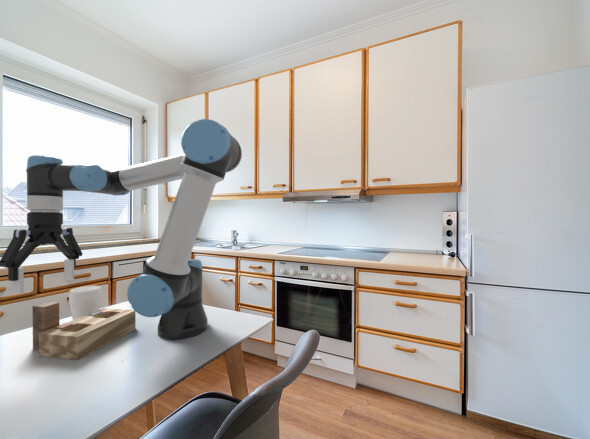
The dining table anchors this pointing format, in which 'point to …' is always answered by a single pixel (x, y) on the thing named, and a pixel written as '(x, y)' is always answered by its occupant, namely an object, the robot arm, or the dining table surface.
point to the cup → (84, 300)
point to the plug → (44, 319)
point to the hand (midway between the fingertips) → (45, 286)
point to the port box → (86, 333)
